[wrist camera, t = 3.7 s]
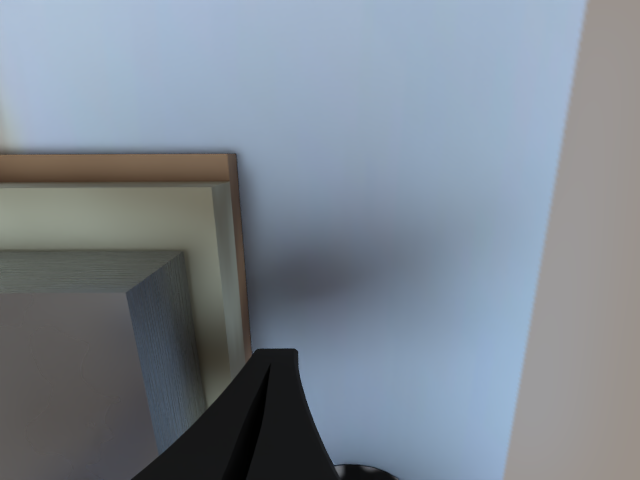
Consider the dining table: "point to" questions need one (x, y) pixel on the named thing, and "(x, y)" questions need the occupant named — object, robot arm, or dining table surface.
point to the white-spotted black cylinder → (362, 473)
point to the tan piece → (144, 230)
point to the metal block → (94, 362)
